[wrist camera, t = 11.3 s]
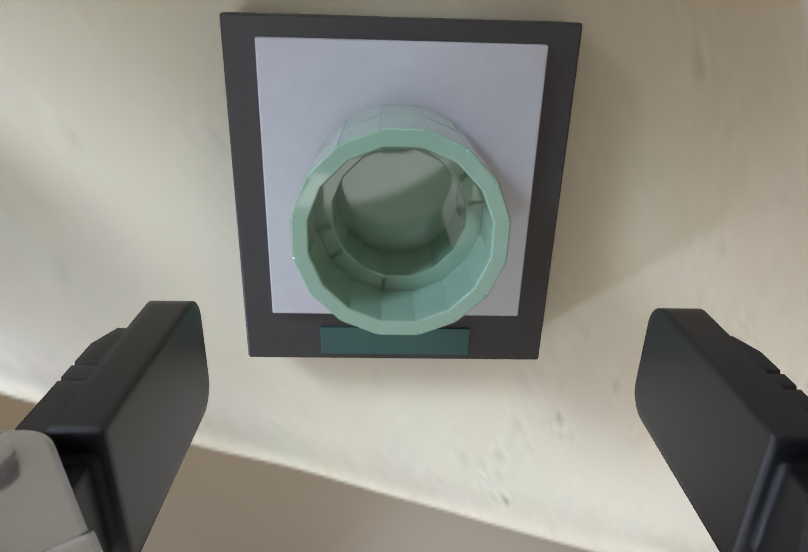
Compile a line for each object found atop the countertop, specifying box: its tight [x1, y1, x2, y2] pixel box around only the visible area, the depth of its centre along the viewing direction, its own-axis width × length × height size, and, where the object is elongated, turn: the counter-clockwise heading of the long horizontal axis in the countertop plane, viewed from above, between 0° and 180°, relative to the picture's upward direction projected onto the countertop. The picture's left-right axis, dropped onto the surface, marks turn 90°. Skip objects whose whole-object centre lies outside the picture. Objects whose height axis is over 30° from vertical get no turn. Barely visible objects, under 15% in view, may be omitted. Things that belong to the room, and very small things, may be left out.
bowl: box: [290, 104, 511, 335], centre depth 20 cm, size 6×6×5 cm
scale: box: [220, 12, 582, 359], centre depth 23 cm, size 13×12×3 cm
